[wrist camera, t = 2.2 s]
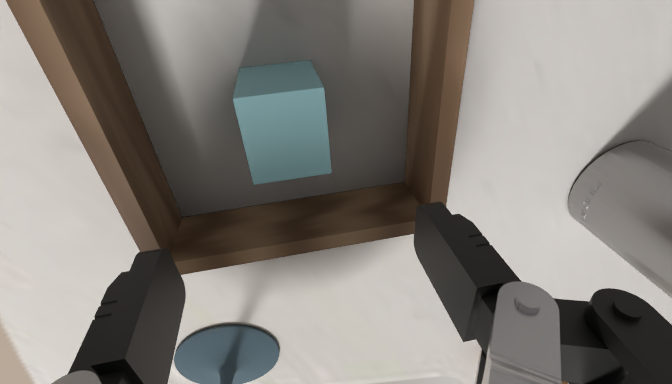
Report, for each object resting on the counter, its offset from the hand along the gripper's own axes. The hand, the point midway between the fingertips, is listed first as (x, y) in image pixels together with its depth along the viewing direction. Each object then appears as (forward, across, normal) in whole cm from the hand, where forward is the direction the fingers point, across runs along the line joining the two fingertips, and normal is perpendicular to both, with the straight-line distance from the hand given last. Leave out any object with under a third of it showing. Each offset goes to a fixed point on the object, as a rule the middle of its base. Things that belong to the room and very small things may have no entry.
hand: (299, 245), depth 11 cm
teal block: (+14, 0, 0) cm, 15 cm away
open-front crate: (+14, 0, 0) cm, 14 cm away
